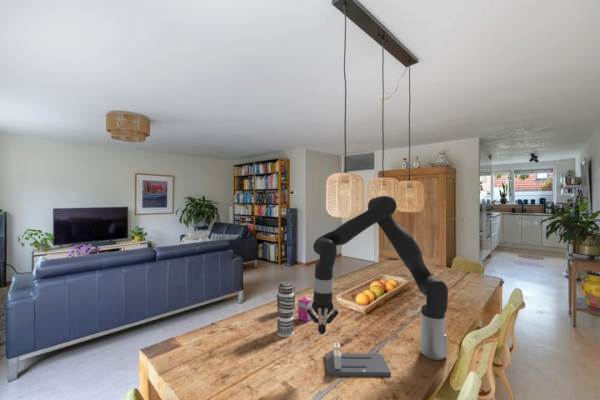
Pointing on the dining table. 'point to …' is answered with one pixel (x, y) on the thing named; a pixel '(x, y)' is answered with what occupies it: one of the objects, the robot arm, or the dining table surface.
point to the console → (358, 365)
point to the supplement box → (304, 309)
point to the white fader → (337, 346)
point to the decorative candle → (285, 309)
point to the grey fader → (337, 359)
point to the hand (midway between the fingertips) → (321, 333)
